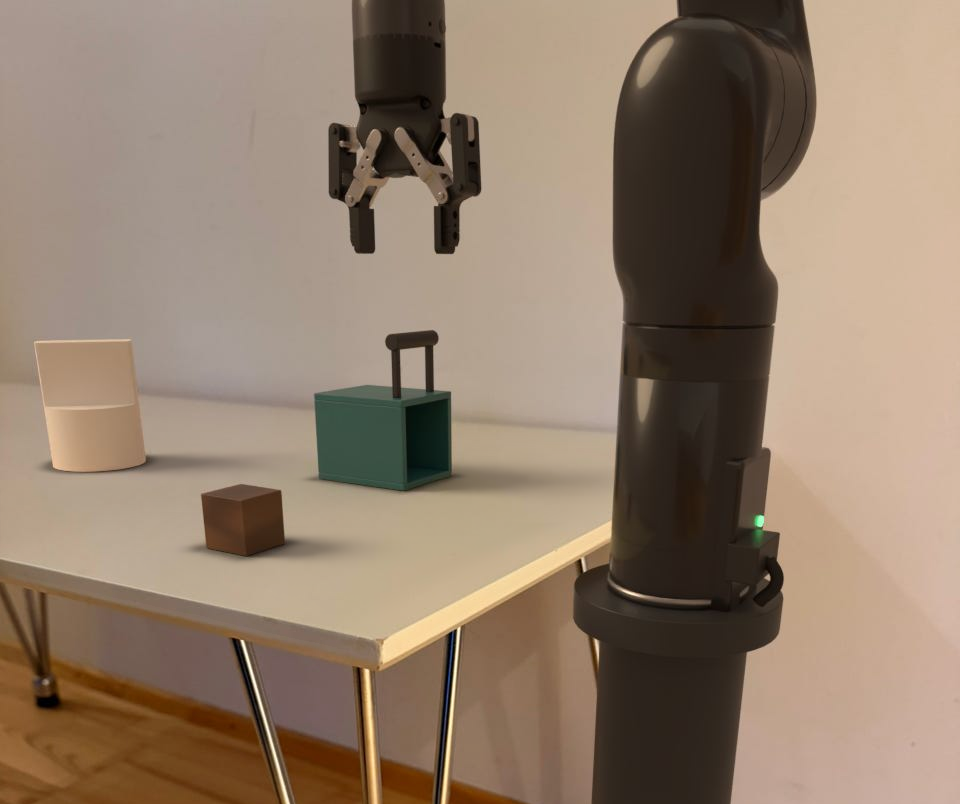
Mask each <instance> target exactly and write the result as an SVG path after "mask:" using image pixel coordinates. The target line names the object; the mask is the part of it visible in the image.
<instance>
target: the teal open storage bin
mask: <svg viewBox="0 0 960 804" xmlns="http://www.w3.org/2000/svg"><path fill="white" fill-rule="evenodd" d="M439 339H440V338H439V334H438V332H437V331H436V330H434V329H428V330H417V331H408V332H407V331H406V332H397V333H389V334H387V335H386V337H385V340H384V345H385V347H386V349H388V350H389V351H390V356H391V357H390V359H391V360H390V361H391V386H390V385H389V386H388V385H387V386H386V385H376V384H362V385H357V386H351V387H344V388H339V389H331V390H326V391H320V392H314V393H313V399H314V416H315V419H314V420H315V435H316V437H315V438H316V452H317V467H318V468H317V469H318V479H319V480H324V481H333V482H340V483H346V484H353V485H359V486H367V487H375V488H381V489H388V490H396V491H401V492H402V491H404V492H405V491H406V490H407V491H408V490H410V489H413V488H417V487H420V486H423V485H427V484H429V483H433V482H436V481H440V480H443V479H445V478H448V477H453V476H452V475H453V470H452V469H453V452H452V451H453V449H452V448H453V447H452V446H453V444H452V443H453V442H452V439H453V438H452V437H453V436H452V391H451V390H440V389H439V390H438V389H435V376H434V375H435V367H434V365H435V364H434V359H435V358H434V346H436V345H437V344H438V343H439ZM418 348H424V370H425V371H424V373H425V374H424V375H425V376H424V377H425V378H424V379H425V388H415V387H414V388H412V387H402V367H401V351H402V350H410V349H418Z"/></svg>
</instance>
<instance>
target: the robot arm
mask: <svg viewBox="0 0 960 804" xmlns="http://www.w3.org/2000/svg"><path fill="white" fill-rule="evenodd" d="M445 1H446V0H351V28H352V52H353V53H352V54H353V80H354V84H353V85H354V97H355V101H356V103H357V105H358V108H359V117H358V122H357V124H356V125H350V124H344V123H338V122H331V123H330V124H329V126H328V129H327V130H328V131H327V132H328V135H327V137H328V138H327V141H328V147H327V148H328V152H327V153H328V160H327V161H328V195H329V197H330V198H331V199H332V200H338V201H339V202H342V203H344V204H345V205H346V207H347V208H348V220H349V221H348V222H349V241H350V243H351V247H353V250H354V252H355V253H356V254H357V255H359V254H360V255H371V254H372V255H373V254H374V253H375V252H376V229H375V227H376V225H375V224H376V223H375V209H374V208H371V207H372V205H373V204H374V202H375V200H376V199H377V196H378V194H379V192H380V190H381V189H382V188H384V187H385V186H386V185H387V183H388V182H389V179H390V178H392V179H402V178H405V177H413V178H419V179H420V181H422V182H423V183H424V184H426V186H427V188H428V190H429V191H430V193H431V194H432V196H433V198H434V199H435V201H436V203H437V205H433V250H434V253H435V254H436V255H454V254H455V252H456V247H458V246H459V244H460V238H461V236H460V235H461V233H460V232H461V231H460V230H461V229H460V222H461V221H460V219H461V218H460V217H461V215H460V208H461V205H462V204H463V202H464V201H467V200H468V199H470V198H472V197H474V198H476V197H479V196H480V195H481V193H482V171H481V169H482V168H481V148H480V127H479V126H480V125H479V123H480V122H479V120H478V119H477V117H476V116H473V115H470V114H467V113H460V112H455V113H453V114H452V115H451V116H450V117H445V113H444V104H445V103H446V100H447V56H446V55H447V52H446V50H447V49H446V47H447V44H446V41H447V40H446V31H447V27H446V2H445ZM676 13H677V17H675V18H672V19H670V20H669V21H667V22H665V23H664V24H663V25H661V26H660V27H658V28H656V29H655V31H653V32H652V33H651V34H650V35H649V37H647V38H646V40H644V42H643V43H642V44H641V45H640V47H639V48H638V50H637V52H636V53H635V55H634V57H633V59H632V60H631V62H630V63H629V66H628V68H627V70H626V74H625V76H624V80H623V82H622V85H621V87H620V92H619V97H618V101H617V106H616V112H615V119H614V130H613V131H614V132H613V145H612V147H613V148H612V150H613V151H612V260H613V268H614V273H615V276H616V279H617V282H618V285H619V288H620V291H621V295H622V322H623V323H622V328H621V347H620V348H621V349H620V365H619V366H620V367H619V383H618V384H619V385H618V401H617V419H616V423H617V424H616V435H615V436H616V437H615V456H614V475H613V493H612V511H611V513H612V514H611V529H610V531H611V533H610V551H609V556H608V557H609V559H608V564H610V569H609V572H608V579H607V586H608V588H609V590H610V591H611V592H613V593H614V594H615V595H617V596H619V597H621V598H623V599H626V600H628V601H631V602H635V603H638V604H642V605H646V606H652V607H657V608H665V609H675V610H717V611H722V612H729V611H731V610H732V609H733V608H734V607H735V606H736V605H737V604H739V603H740V602H741V601H743V600H744V599H745V598H746V597H747V596H748V595H749V594H750V593H751V592H752V591H753V590H755V589H756V586H757V584H758V583H759V582H760V581H761V580H762V579H763V578H765V579H766V577H767V576H769V581H770V582H769V584H768V585H767V586H766V587H765V588H764V589H763V590H761V591H760V592H759V593H758V594H757V595H756V596H755V597H754V598H753V601H754V602H755V603H756V604H757V605H759V606H760V607H764V606H765V605H766V604H767V603H768V602H769V601H771V600H772V599H773V598H774V597H776V596H777V595H778V593H779V592H780V590H781V591H782V589H783V586H784V582H785V575H784V571H783V568H782V567H781V565H780V563H779V561H778V554H779V546H780V537H781V534H780V532H779V531H773V530H766V529H765V530H764V523H765V512H766V504H767V495H768V485H769V476H770V467H771V457H772V451H771V450H770V449H771V448H770V447H767V446H763V443H764V432H765V424H766V423H765V422H766V414H767V413H766V412H767V404H768V395H769V385H770V375H771V368H772V367H771V366H772V358H773V357H772V356H773V350H774V349H773V348H774V337H775V328H776V325H775V324H776V321H777V312H778V302H779V282H778V279H777V276H776V275H775V273H774V272H773V271H772V269H771V267H770V266H769V264H768V263H767V260H766V258H765V254H764V252H763V247H762V241H761V235H760V228H761V227H760V223H761V222H760V221H761V206H762V205H761V204H762V203H761V202H762V201H765V200H767V199H768V198H770V197H771V196H773V195H775V194H776V193H777V192H779V191H780V190H781V189H782V188H784V186H785V185H786V184H788V182H789V181H790V180H791V178H792V177H793V176H794V175H795V174H796V172H797V170H798V169H799V167H800V166H801V165H802V162H803V161H804V159H805V157H806V154H807V152H808V150H809V148H810V144H811V140H812V136H813V133H814V130H815V126H816V125H815V124H816V118H817V107H818V105H817V103H818V101H817V100H818V99H817V84H816V77H815V75H816V74H815V67H814V62H813V54H812V49H811V42H810V35H809V29H808V24H807V22H808V21H807V17H806V10H805V4H804V0H676ZM446 139H447V141H448V144H449V145H450V150H451V167H452V168H451V167H450V165H449V164H448V162H447V160H446V159H445V156H444V155H443V154H442V152H441V148H442V147H443V144H444V143H445V140H446ZM361 148H362V150H363V151H362V153H361V156H360V157H359V159H358V151H359V150H360V149H361Z"/></svg>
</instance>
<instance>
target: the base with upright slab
mask: <svg viewBox="0 0 960 804" xmlns="http://www.w3.org/2000/svg"><path fill="white" fill-rule="evenodd" d="M33 346H34V351H35V353H34V354H35V359H36V365H37V371H38V379H39V384H40V390H41V391H40V392H41V397H42V403H43V410H44V417H45V423H46V431H47V437H48V442H49V449H50V455H51V462H52V467H53V468H54V469H56V470H60V471H65V472H76V473H77V472H79V473H80V472H81V473H85V472H86V473H88V472H90V473H92V472H108V471H109V472H110V471H116V470H117V471H118V470H125V469H129V468H133V467H137V466H140V465H143V464H145V463H146V462H147V457H146V449H145V448H146V447H145V440H144V433H143V423H142V416H141V407H140V400H139V399H140V397H139V391H138V383H137V375H136V374H137V373H136V366H135V358H134V350H133V349H134V348H133V340H132V339H130V338H121V339H120V338H118V339H117V338H113V339H110V338H109V339H66V340H65V339H63V340H62V339H60V340H59V339H57V340H56V339H55V340H36V341H34V342H33Z"/></svg>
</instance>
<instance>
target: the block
mask: <svg viewBox="0 0 960 804" xmlns="http://www.w3.org/2000/svg"><path fill="white" fill-rule="evenodd" d="M282 494H283V493H282V490H281V489H277V488H272V487H271V488H270V487H264V486H257V485H252V484H246V483H239V484H235V485H232V486H227V487H223V488H218V489H215V490H211V491H207V492H203V493H200V497H201V498H200V499H201V507H202V518H203V529H204V538H205V539H204V540H205V548H206V549H210V550H215V551H219V552H225V553H230V554H234V555H239V556H243V557H248V556H252V555H254V554H258V553H261V552H263V551H266V550H270V549H273V548H275V547H276V548H277V547H278V546H281V545H284V544H286V537H285V535H286V534H285V524H284V523H285V522H284V508H283V495H282Z"/></svg>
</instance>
